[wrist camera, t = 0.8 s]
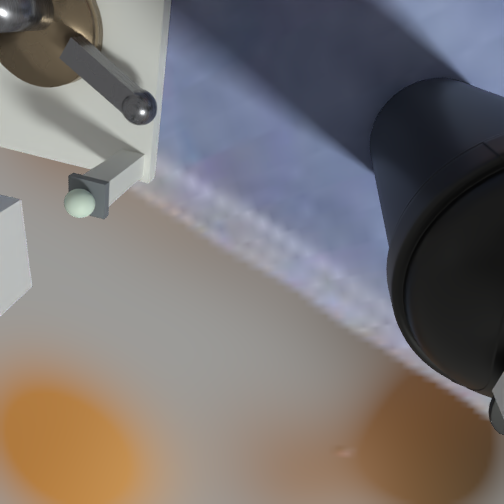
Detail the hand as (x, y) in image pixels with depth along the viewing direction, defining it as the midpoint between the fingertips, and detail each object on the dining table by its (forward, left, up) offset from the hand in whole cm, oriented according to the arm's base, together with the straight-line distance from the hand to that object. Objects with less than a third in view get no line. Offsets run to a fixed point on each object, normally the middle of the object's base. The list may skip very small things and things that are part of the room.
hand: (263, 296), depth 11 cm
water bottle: (0, +9, -24) cm, 26 cm away
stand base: (-3, -19, -24) cm, 31 cm away
